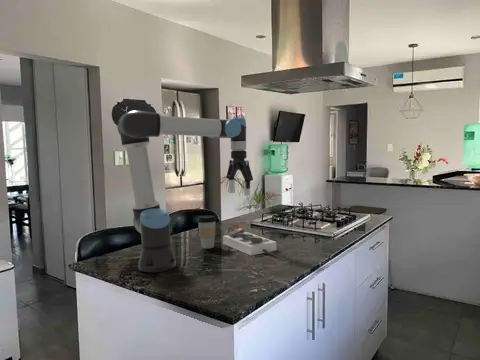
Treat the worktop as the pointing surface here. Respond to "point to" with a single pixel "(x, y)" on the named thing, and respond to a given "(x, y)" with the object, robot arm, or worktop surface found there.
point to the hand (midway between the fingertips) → (239, 194)
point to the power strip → (250, 245)
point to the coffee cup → (207, 230)
